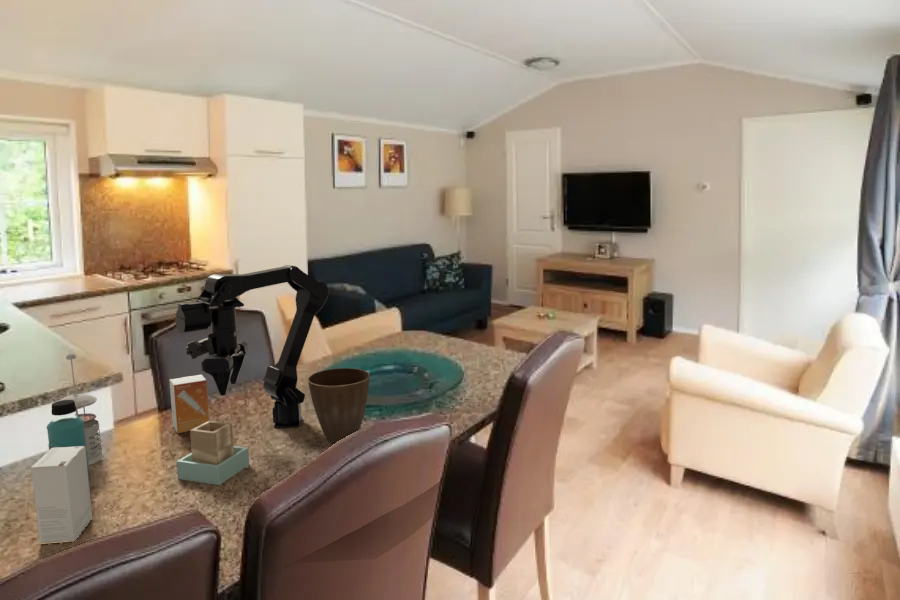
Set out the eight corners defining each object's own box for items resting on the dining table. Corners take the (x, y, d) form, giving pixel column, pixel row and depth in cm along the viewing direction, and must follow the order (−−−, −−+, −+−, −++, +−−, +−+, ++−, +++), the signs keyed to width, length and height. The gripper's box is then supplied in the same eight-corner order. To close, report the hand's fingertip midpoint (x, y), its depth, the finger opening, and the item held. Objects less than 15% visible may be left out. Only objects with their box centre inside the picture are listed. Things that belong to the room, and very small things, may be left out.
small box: (177, 434, 155) (173, 384, 153) (172, 426, 161) (168, 378, 159) (210, 427, 160) (207, 379, 158) (205, 420, 165) (201, 373, 163)
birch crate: (212, 460, 137) (208, 420, 136) (234, 464, 136) (231, 423, 134) (193, 472, 132) (190, 430, 130) (216, 475, 130) (213, 433, 128)
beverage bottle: (65, 490, 126) (53, 396, 123) (98, 488, 126) (88, 395, 123) (47, 505, 120) (34, 407, 116) (82, 503, 120) (71, 406, 117)
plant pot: (344, 455, 141) (341, 389, 139) (297, 442, 149) (294, 379, 147) (383, 434, 154) (382, 373, 151) (339, 423, 162) (336, 365, 159)
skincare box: (59, 522, 113) (50, 446, 111) (95, 519, 114) (86, 443, 112) (38, 547, 105) (27, 466, 103) (76, 543, 106) (66, 463, 104)
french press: (55, 471, 135) (42, 361, 131) (60, 452, 145) (48, 349, 141) (106, 462, 139) (94, 355, 135) (107, 444, 149) (97, 344, 145)
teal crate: (210, 459, 140) (209, 442, 140) (249, 464, 137) (248, 447, 136) (178, 478, 130) (176, 461, 130) (219, 485, 127) (217, 467, 127)
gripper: (201, 320, 155) (206, 379, 158) (175, 336, 137) (180, 403, 139) (246, 319, 156) (250, 377, 159) (226, 335, 138) (231, 401, 140)
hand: (228, 389), depth 149 cm, fingers open, 9 cm apart
